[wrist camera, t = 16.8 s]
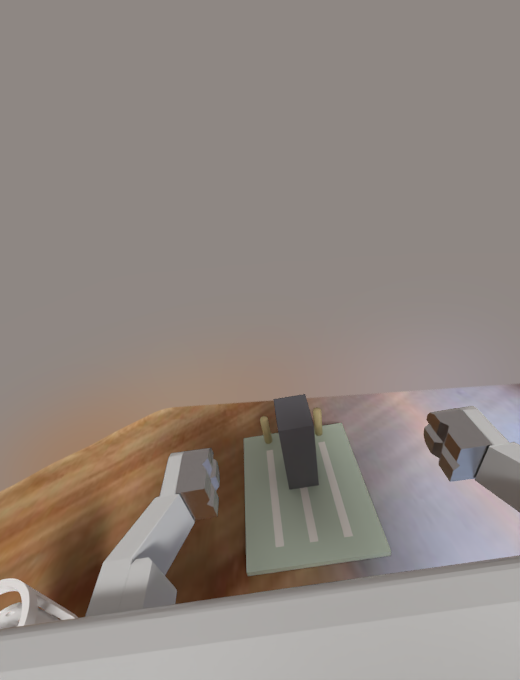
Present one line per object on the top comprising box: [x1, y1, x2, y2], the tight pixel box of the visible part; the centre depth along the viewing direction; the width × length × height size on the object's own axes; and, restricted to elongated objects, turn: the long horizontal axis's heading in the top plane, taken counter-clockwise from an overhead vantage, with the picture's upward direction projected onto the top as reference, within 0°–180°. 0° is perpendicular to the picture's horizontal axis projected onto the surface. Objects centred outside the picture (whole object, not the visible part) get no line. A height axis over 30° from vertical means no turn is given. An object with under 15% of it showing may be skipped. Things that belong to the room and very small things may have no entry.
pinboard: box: [244, 408, 391, 576], centre depth 38 cm, size 16×18×6 cm
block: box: [274, 394, 319, 490], centre depth 38 cm, size 4×5×12 cm
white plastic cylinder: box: [0, 579, 78, 629], centre depth 24 cm, size 7×7×15 cm
